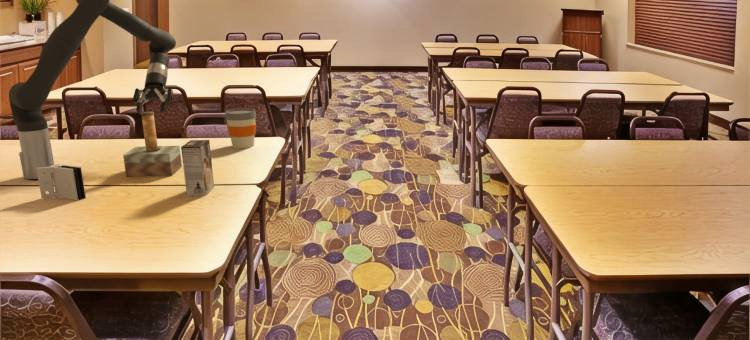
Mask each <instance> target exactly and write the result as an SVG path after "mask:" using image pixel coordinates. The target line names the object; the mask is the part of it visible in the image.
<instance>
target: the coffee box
mask: <svg viewBox="0 0 750 340" xmlns="http://www.w3.org/2000/svg"><path fill="white" fill-rule="evenodd" d="M180 151H181V160H182V164H183V165H182V167H183V173H184V182H185V190H186V196H187V197H189V196H190V197H191V196H192V197H195V196H198V197H199V196H207V195H208V194H209V193H210V192H211V190H212V189H214V187H215V181H214V180H215V179H214V173H213V164H212V163H213V162H212V154H211V143H210V139H192V140H191V139H190V140H189V141H187V142H186V143H185V144H183V145H182V146H180Z"/></svg>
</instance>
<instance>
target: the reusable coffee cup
mask: <svg viewBox="0 0 750 340" xmlns="http://www.w3.org/2000/svg"><path fill="white" fill-rule="evenodd" d="M256 118H257V113H256V109H253V108H235V109H234V108H233V109H229V110H226V111H225V119H226V122H227V124H226V128H227V132H228V135H229V137H230V141H231V145H232V148H233V147H235V148H234V149H239V148H242V149H248V148H249V147H250V148H252V147H254V146H255V136H256V134H257V132H256V131H257V123H256Z"/></svg>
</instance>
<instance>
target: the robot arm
mask: <svg viewBox="0 0 750 340" xmlns="http://www.w3.org/2000/svg"><path fill="white" fill-rule="evenodd" d="M75 1H76V3H77V6H76V8H75V9H74V11H73V12H72V13H71V14H70V15H69V16H67V18H65V19H64V20H63V21H62V22H61V23H59V24H58V26H57V27H56V28H55V29H54V30H53V31H52V32H51V33H50V35H49V36H48V38H47V40H46V41H45V42H44V44H43V46H42V49H41V50H40V51H41V52H40V54H39V59H38V62H37V65H36V67H35V69H34V70H33V72H32V73H31V74H30V75H29V77H28V78H27V79H26V80H25V82H24V81H21V82H17V83H14V84H13V85H12V86H11V87H10V89H9V91H8V100H9V106H10V111H11V114H12V115H11V116H12V119H13V121H14V124H15V126H16V129H17V135H18V139H19V146H20V150H21V151H19V152H18V154H19V155H18V156H19V160H20V165H21V171H22V177H23V179H25V180H29V179H38V175H37V170H36V168H41V167H51V166H52V165H55V160H54V154H53V149H52V143H51V137H50V131H49V125H48V122H47V121H48V120H47V119H46V118H45V116H44V114H43V112H42V106H43V105H44V104H45V102H46V101H47V99H48V97H49V95H50V93H51V91H52V89H53V87H54V85H55V83H56V81H57V79H58V78H59V77H60V75H61V74H62V72H63V71H64V70H65V68H66V67H67V65H68V63H69V62H70V61H71V59H72V58H73V56H74V55H75V53H76V52H77V50H78V49H79V47H80V46H81V43H82V42H83V40H84V39H85V38H86V36H87V34H88V33H89V31H90V29H91V27H92V26H93V25H94V23H95V22H96V20H97V19H98V18H99V17H102V18H104V19H106V20H107V21H109V22H111V23H113V24H114V25H115V26H118V27H119V28H121V29H123V30H124V31H126V32H127V33H128V34H129V35H132V36H134V37H135V38H136V39H138V40H139V41H141V42H143V43H145V42H146V43H147V42H149V43H148V51H149V57H150V59H149V63H148V68H147V71H146V76H145V80H144V81H145V82H144V87H143V88H142V89H139V87H137V88H135V89H134V94H133V97H132V102H133V104H134V105H136V107H135V108H136V112H137V113H138V114H139V115H141V113H142V111H143V105H144V104H145V103H148V102H149V101H159V100H160V101H161V102H160V108H159V111H160V112H161V114H164V113H165V112H166V111H167V105H168V104H170V105H171V104H173V99H174V98H173V97H174V90H173V89H172V87H170V86H169V87H168V88H166V87H167V81H168V73H169V72H168V69H169V65H170V57H169V56H168V55H167V53H169V52H170V51H172V50H174V49H175V48H176V46H177V45H176V44H177V41H176V38H175V37H174V36H173V34H171V33H169V32H168V31H166V30H163V29H161V28H159V27H156V26H152V25H150V24H149V23H148V22H146V21H145V20H143V19H142V18H140V17H139V16H137V15H135V14H133V13H131V12H129V11H127V10H125V9H123V8H120V7H119V6H117V5H115V4H114V3H112V2H111V1H110V0H75ZM165 94H166V97H167V98H164V96H165ZM42 174H43V175H45V172H43V173H42ZM51 175H52V173H51ZM52 178H53V176H52Z"/></svg>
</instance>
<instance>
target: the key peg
mask: <svg viewBox="0 0 750 340" xmlns="http://www.w3.org/2000/svg"><path fill="white" fill-rule="evenodd" d="M140 116H141V122H142V129H143V137H144V145H145V146H146V152H157V151H158V146H159V145H158V140H157V131H156V123H155V121H156V120H155V111H143V112H141V114H140ZM145 146H144V147H145Z"/></svg>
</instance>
